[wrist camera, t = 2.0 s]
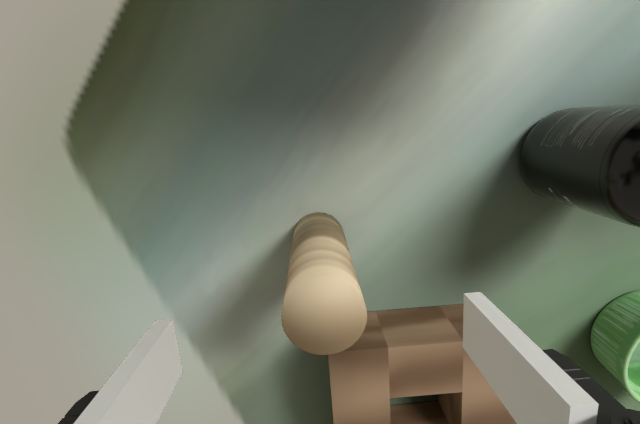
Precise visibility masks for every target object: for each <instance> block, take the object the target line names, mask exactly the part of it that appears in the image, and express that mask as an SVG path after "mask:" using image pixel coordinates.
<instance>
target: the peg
mask: <svg viewBox="0 0 640 424" xmlns="http://www.w3.org/2000/svg"><path fill="white" fill-rule="evenodd" d="M281 317H282V326H283V329H284V331H285V333H286V335H287V337H288V338H289V340H290V341H291V342H292V343H293V344H294V345H296V346H297V347H298V348H300V349H301V350H304V351H306V352H308V353H312V354H316V355H330V354H335V353H339V352H341V351H344V350H346V349H347V348H349V347H350V346H352V345H353V344H354V343H355V342H356V341H357V340H358V339H359V338H360V336H361V335H362V333H363V331H364V329H365V326H366V322H367V309H366V306H365V302H364V299H363V296H362V292H361V289H360V286H359V282H358V279H357V276H356V273H355V269H354V266H353V263H352V259H351V256H350V253H349V249H348V246H347V243H346V240H345V236H344V233H343V230H342V227H341V225H340V223H339V222H338V221H337V220H336V219H335V218H334V217H332V216H331V215H328V214H326V213H312V214H309V215H307V216H305V217H303V218H302V219H301V220H300V221H299V222H298V223H297V225H296V227H295V229H294V234H293V241H292V247H291V254H290V261H289V268H288V274H287V281H286V288H285V294H284V301H283V308H282V316H281Z"/></svg>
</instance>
